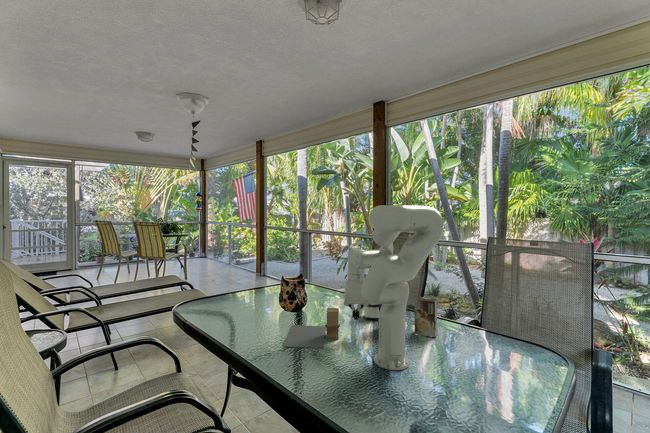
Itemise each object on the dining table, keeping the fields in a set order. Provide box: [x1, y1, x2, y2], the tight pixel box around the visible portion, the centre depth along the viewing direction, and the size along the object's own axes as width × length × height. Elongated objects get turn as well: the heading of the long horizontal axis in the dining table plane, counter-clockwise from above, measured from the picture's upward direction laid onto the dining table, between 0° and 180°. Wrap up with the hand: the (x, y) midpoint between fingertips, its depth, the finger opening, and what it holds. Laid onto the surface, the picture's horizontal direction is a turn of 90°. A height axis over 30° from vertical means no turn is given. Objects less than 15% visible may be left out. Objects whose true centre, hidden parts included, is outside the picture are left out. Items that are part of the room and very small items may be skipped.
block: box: [326, 307, 340, 341], centre depth 139 cm, size 5×5×12 cm
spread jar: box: [359, 304, 379, 321], centre depth 166 cm, size 12×11×12 cm
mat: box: [282, 324, 327, 349], centre depth 140 cm, size 24×16×1 cm, turn 177°
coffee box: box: [414, 296, 438, 338], centre depth 144 cm, size 9×6×16 cm
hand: (355, 319), depth 139 cm, fingers closed
